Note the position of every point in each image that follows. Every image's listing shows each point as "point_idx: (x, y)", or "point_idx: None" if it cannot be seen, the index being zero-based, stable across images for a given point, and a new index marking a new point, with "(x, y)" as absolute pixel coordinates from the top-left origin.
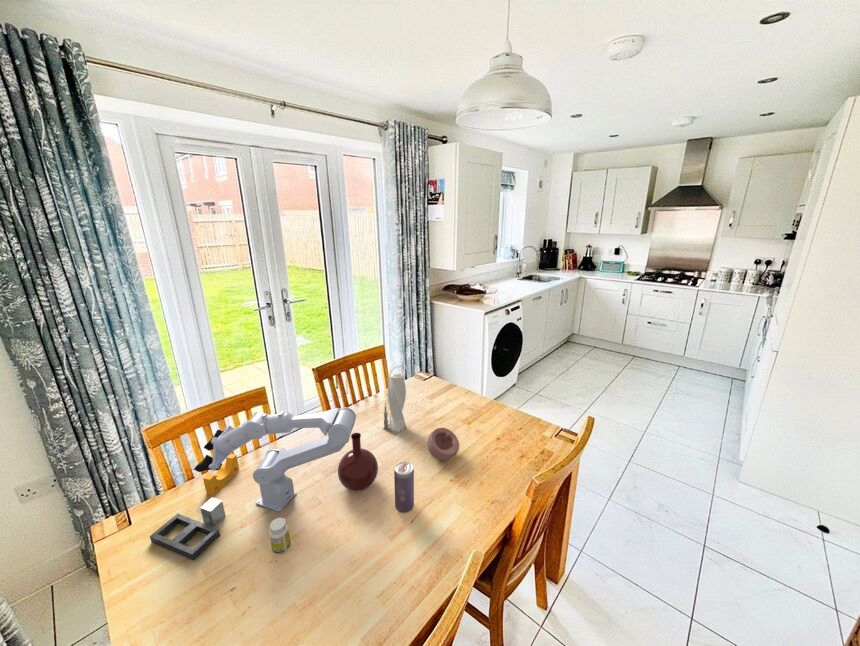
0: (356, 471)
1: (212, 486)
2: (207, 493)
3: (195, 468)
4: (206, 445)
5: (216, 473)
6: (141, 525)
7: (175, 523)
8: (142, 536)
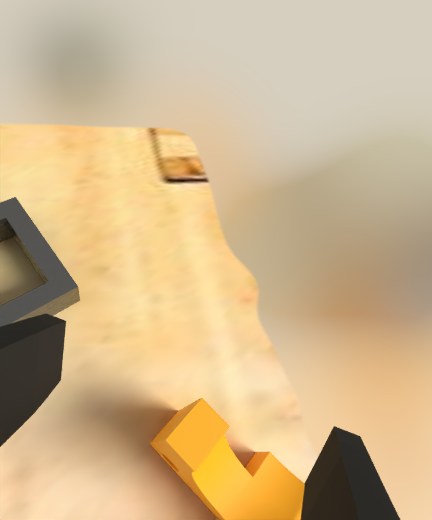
0: None
1: (160, 446)
2: (175, 414)
3: (22, 324)
4: (342, 476)
5: (279, 467)
6: (140, 201)
7: (46, 282)
8: (81, 199)
